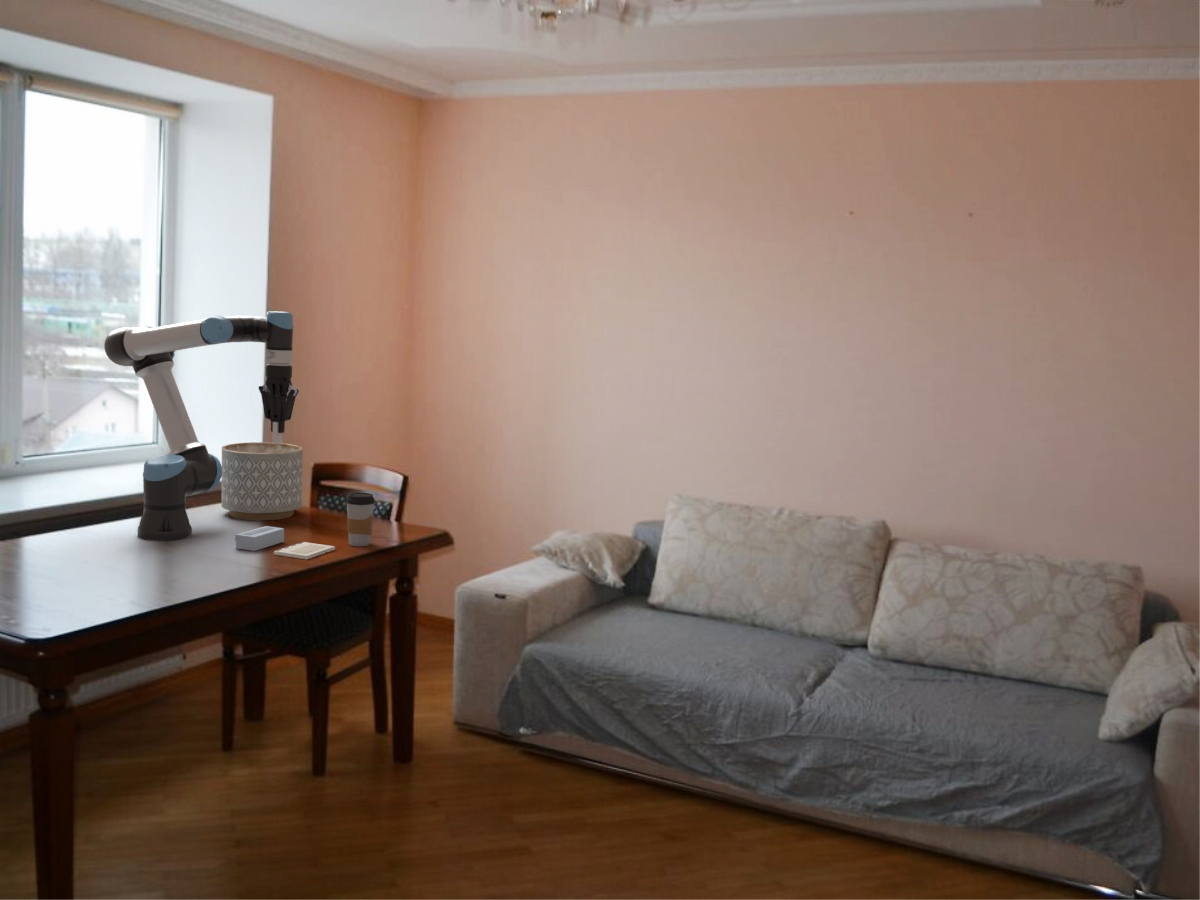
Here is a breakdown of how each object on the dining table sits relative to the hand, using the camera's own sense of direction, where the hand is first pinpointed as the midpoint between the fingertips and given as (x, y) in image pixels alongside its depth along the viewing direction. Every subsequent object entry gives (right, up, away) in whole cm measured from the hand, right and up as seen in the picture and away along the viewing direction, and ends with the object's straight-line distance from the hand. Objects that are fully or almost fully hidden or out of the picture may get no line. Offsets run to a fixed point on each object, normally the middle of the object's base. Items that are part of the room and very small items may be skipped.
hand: (277, 443), depth 339 cm
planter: (-16, -23, +38) cm, 47 cm away
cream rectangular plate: (+11, -31, -11) cm, 35 cm away
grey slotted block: (-3, -30, -6) cm, 31 cm away
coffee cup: (+24, -30, +2) cm, 39 cm away
